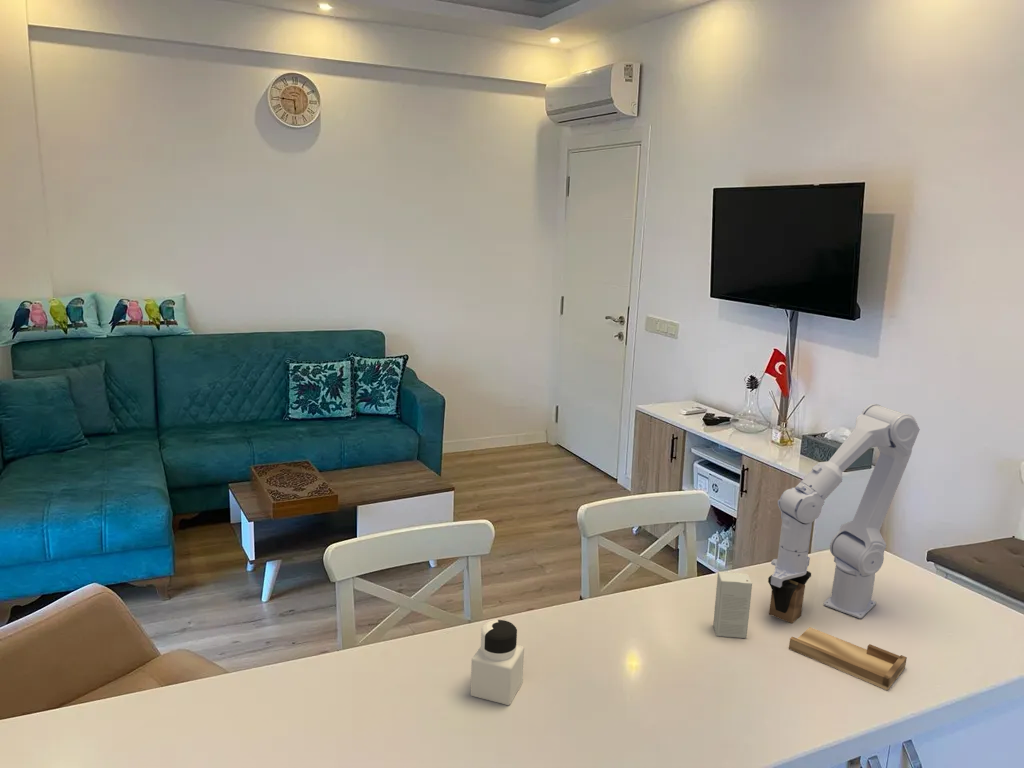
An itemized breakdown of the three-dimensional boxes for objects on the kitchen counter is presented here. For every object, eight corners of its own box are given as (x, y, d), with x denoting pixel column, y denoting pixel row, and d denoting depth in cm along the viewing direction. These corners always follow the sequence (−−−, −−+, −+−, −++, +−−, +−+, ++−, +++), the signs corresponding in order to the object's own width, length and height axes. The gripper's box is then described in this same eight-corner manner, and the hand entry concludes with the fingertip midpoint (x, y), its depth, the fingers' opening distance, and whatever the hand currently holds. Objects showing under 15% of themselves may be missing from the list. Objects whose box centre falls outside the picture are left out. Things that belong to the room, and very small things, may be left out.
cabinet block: (778, 606, 160) (782, 573, 158) (801, 615, 157) (805, 581, 155) (769, 614, 157) (773, 580, 155) (792, 623, 153) (796, 588, 152)
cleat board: (809, 629, 151) (810, 619, 151) (905, 667, 139) (906, 657, 139) (788, 648, 144) (790, 638, 144) (887, 690, 132) (889, 679, 132)
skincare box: (742, 627, 151) (748, 573, 148) (746, 639, 147) (753, 583, 144) (711, 625, 152) (717, 570, 149) (715, 636, 147) (721, 580, 145)
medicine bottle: (523, 682, 130) (526, 620, 128) (509, 706, 124) (512, 641, 121) (485, 673, 133) (487, 611, 130) (469, 696, 126) (471, 632, 123)
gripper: (789, 530, 161) (782, 588, 164) (759, 550, 151) (752, 611, 154) (822, 541, 156) (814, 600, 159) (793, 562, 146) (785, 624, 149)
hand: (786, 606), depth 156 cm, fingers closed on cabinet block, 4 cm apart
